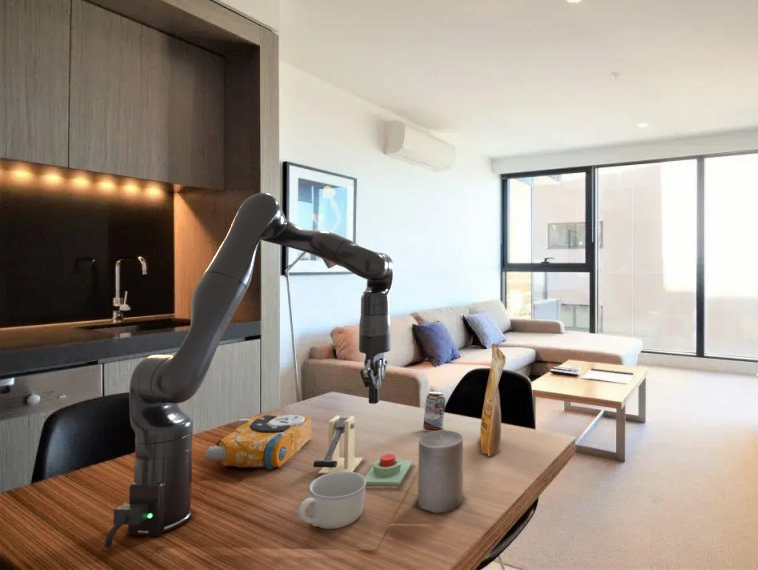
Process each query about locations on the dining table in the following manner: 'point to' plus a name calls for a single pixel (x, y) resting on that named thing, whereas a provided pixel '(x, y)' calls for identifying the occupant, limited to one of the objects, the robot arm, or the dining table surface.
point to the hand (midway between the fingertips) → (373, 402)
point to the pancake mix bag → (492, 406)
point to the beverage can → (434, 411)
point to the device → (262, 441)
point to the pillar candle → (440, 471)
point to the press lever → (332, 446)
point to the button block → (388, 473)
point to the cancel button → (387, 460)
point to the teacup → (334, 500)
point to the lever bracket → (349, 459)
